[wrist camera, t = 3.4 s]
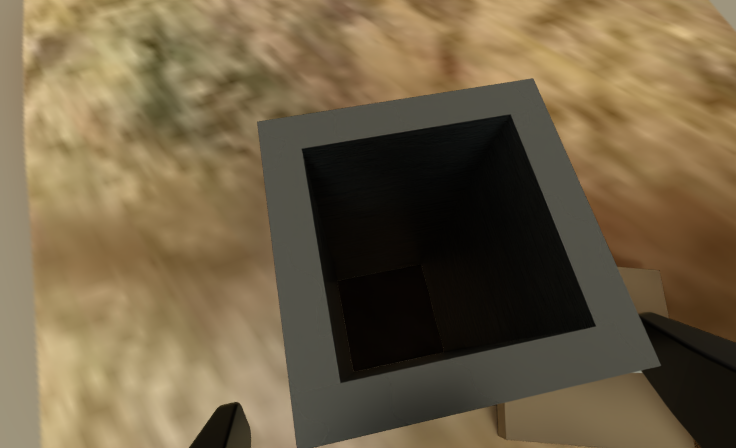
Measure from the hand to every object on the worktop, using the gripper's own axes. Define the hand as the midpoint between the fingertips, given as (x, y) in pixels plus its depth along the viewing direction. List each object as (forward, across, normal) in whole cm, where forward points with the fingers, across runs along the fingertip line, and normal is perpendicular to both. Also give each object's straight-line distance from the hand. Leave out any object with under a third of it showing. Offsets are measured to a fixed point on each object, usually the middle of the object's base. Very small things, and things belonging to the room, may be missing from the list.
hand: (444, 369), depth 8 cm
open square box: (+9, 0, +6) cm, 10 cm away
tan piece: (+6, -9, +8) cm, 13 cm away
